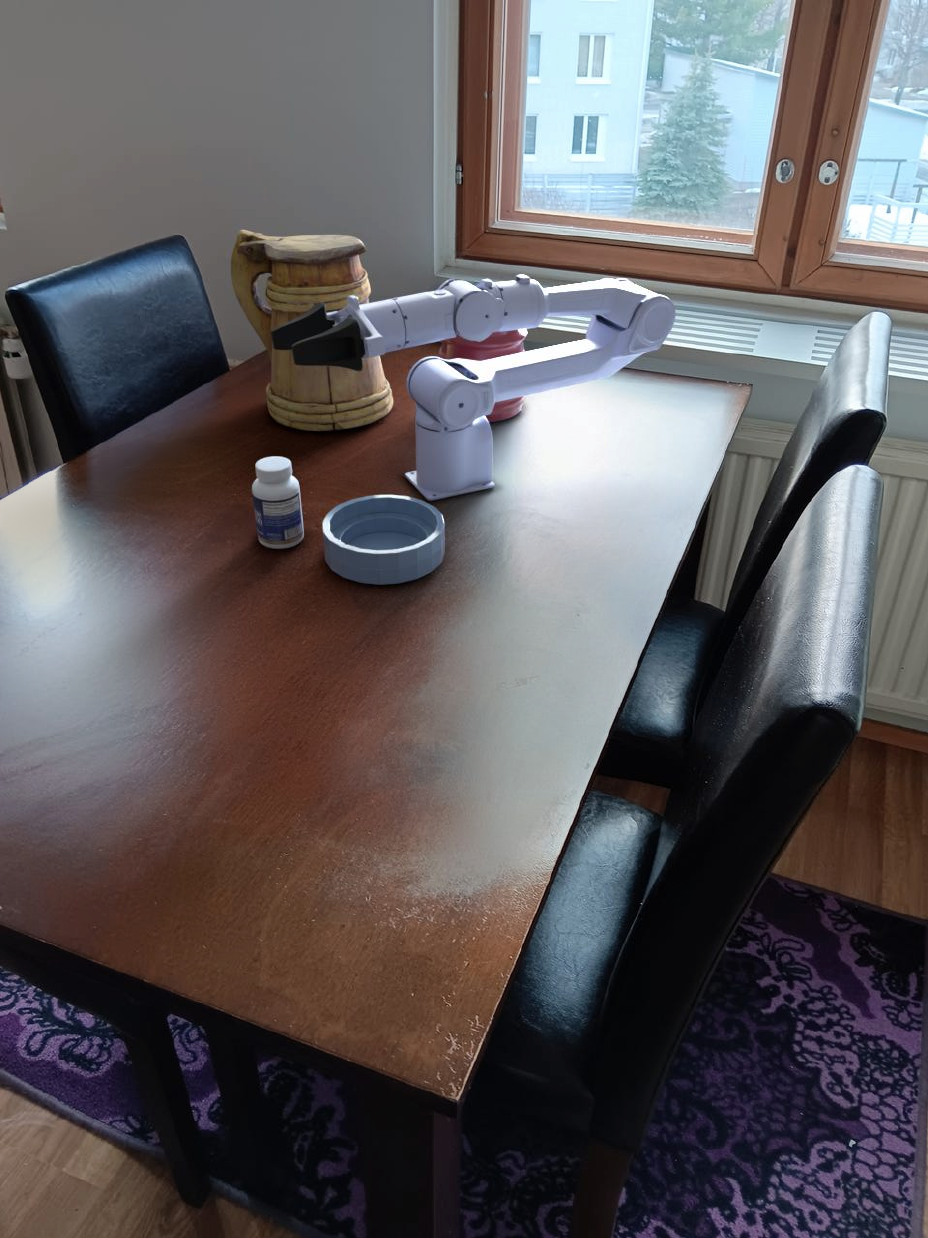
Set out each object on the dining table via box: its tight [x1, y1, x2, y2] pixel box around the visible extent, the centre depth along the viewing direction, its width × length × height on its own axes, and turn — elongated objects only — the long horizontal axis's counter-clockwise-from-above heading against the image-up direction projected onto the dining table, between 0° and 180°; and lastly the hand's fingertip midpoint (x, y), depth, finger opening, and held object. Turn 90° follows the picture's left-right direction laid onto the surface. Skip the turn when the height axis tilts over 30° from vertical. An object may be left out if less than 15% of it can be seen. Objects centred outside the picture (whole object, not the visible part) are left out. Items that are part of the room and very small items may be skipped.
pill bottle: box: [251, 455, 305, 550], centre depth 112 cm, size 5×5×10 cm
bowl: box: [321, 494, 446, 586], centre depth 110 cm, size 14×14×4 cm
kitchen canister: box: [438, 329, 528, 423], centre depth 143 cm, size 13×13×18 cm
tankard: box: [230, 229, 394, 432], centre depth 140 cm, size 18×24×25 cm
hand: (282, 347), depth 107 cm, fingers open, 7 cm apart
